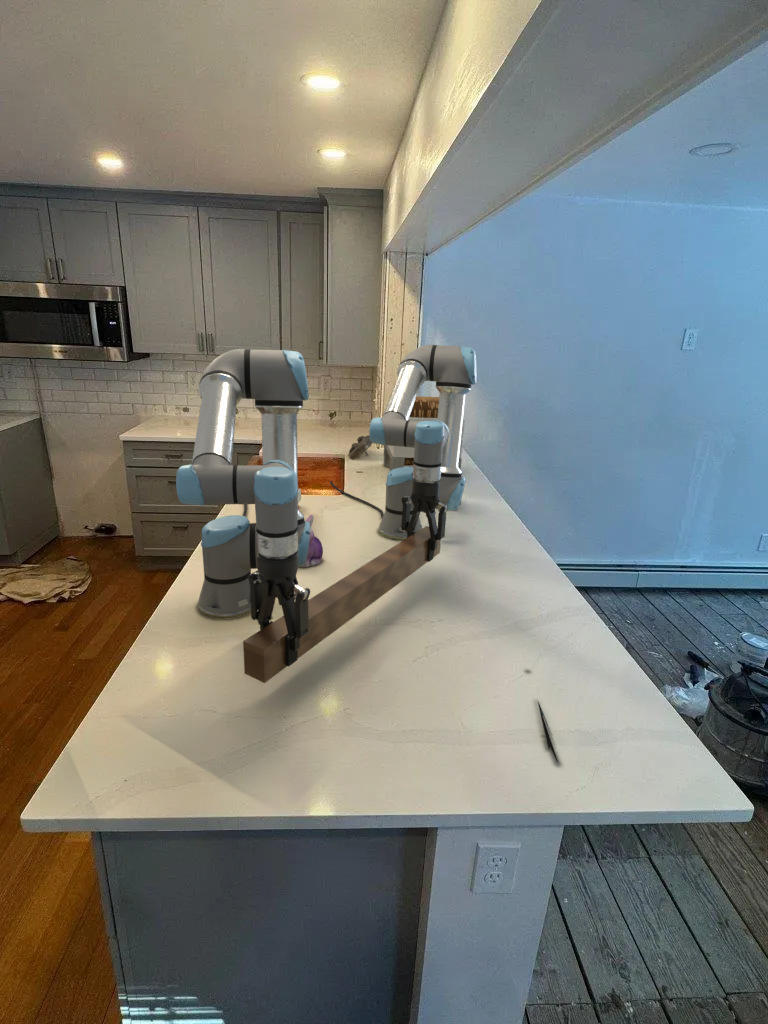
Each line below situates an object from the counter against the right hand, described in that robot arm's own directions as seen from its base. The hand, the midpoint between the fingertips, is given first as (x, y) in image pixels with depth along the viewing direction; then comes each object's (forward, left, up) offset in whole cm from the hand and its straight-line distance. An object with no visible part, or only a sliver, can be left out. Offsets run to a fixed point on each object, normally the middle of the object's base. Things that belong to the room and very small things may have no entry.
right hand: (420, 557), depth 161 cm
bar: (+9, -29, -1) cm, 30 cm away
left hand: (+18, -57, 0) cm, 60 cm away
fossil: (-128, +79, -8) cm, 151 cm away
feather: (+55, -19, -8) cm, 59 cm away
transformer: (-85, +82, -8) cm, 118 cm away
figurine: (-31, -17, -8) cm, 36 cm away
